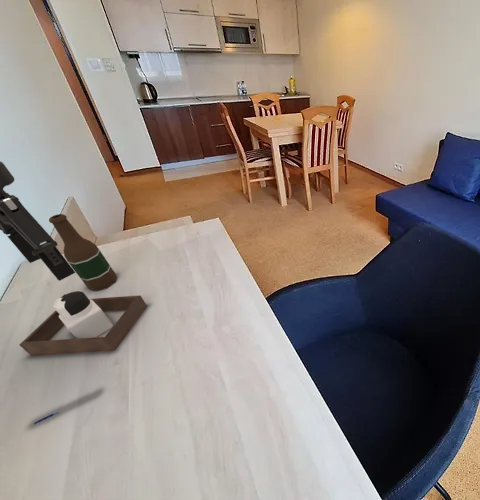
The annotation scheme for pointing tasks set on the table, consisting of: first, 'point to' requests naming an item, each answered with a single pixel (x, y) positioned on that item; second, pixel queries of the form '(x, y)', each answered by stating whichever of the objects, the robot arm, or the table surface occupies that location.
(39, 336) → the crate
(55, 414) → the ballpoint pen
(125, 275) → the table surface
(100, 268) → the beer bottle
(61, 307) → the medicine bottle
